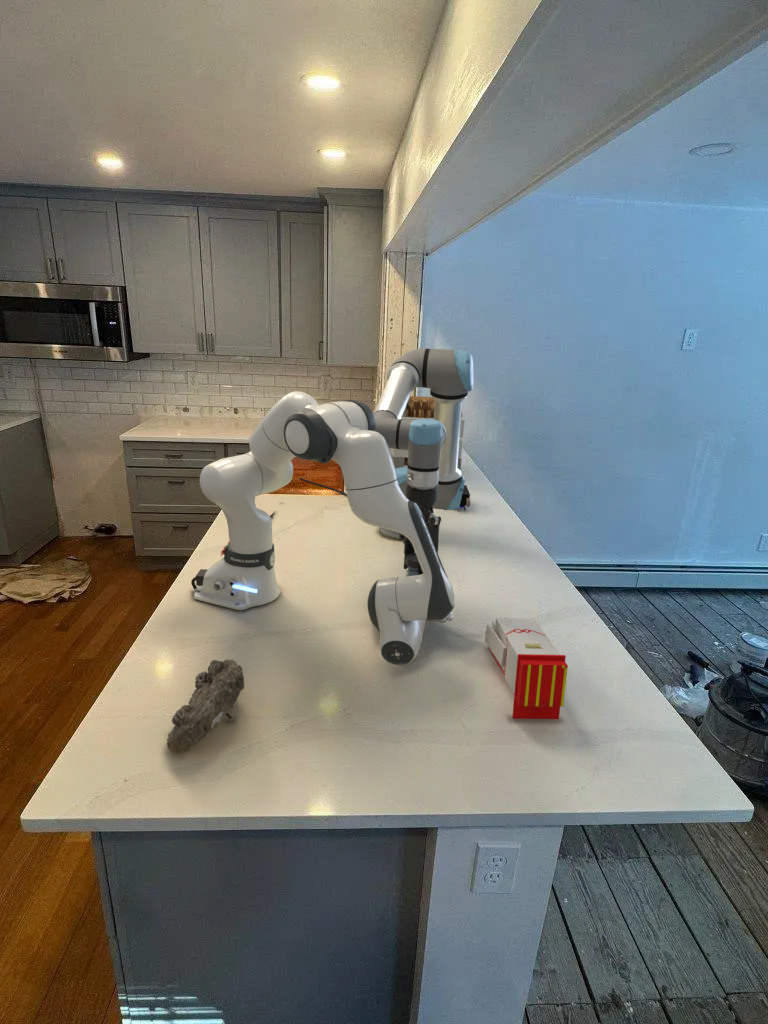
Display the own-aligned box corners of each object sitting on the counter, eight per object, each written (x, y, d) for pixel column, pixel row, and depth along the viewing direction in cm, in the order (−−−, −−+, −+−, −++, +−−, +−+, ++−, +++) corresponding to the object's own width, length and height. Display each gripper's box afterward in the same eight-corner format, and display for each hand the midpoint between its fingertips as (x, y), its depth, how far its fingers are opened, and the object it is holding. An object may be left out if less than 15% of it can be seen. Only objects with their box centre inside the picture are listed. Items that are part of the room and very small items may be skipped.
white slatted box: (382, 463, 289) (386, 382, 275) (445, 464, 293) (451, 384, 279) (390, 482, 257) (394, 392, 243) (460, 483, 261) (468, 394, 247)
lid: (429, 561, 145) (430, 554, 144) (425, 570, 140) (426, 563, 139) (408, 557, 146) (408, 551, 145) (403, 566, 141) (403, 559, 140)
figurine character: (470, 515, 225) (465, 499, 238) (472, 498, 221) (467, 483, 235) (453, 515, 224) (449, 499, 238) (455, 497, 221) (451, 482, 234)
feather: (282, 505, 226) (285, 501, 225) (264, 529, 199) (267, 524, 198) (279, 503, 225) (281, 499, 225) (260, 526, 199) (263, 522, 198)
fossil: (192, 660, 117) (244, 628, 112) (224, 691, 120) (276, 661, 115) (142, 746, 98) (202, 712, 93) (182, 779, 101) (242, 748, 96)
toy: (531, 603, 136) (576, 661, 106) (526, 655, 139) (569, 725, 109) (481, 602, 135) (512, 660, 106) (477, 654, 138) (507, 724, 109)
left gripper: (453, 610, 131) (456, 583, 144) (366, 599, 134) (377, 574, 147) (450, 634, 133) (454, 605, 146) (365, 622, 136) (376, 596, 149)
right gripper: (387, 477, 141) (383, 561, 149) (433, 498, 126) (426, 591, 134) (412, 473, 145) (406, 556, 153) (459, 494, 130) (450, 584, 138)
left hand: (414, 589), depth 146 cm, fingers closed on jar, 5 cm apart
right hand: (416, 572), depth 144 cm, fingers closed on lid, 6 cm apart
